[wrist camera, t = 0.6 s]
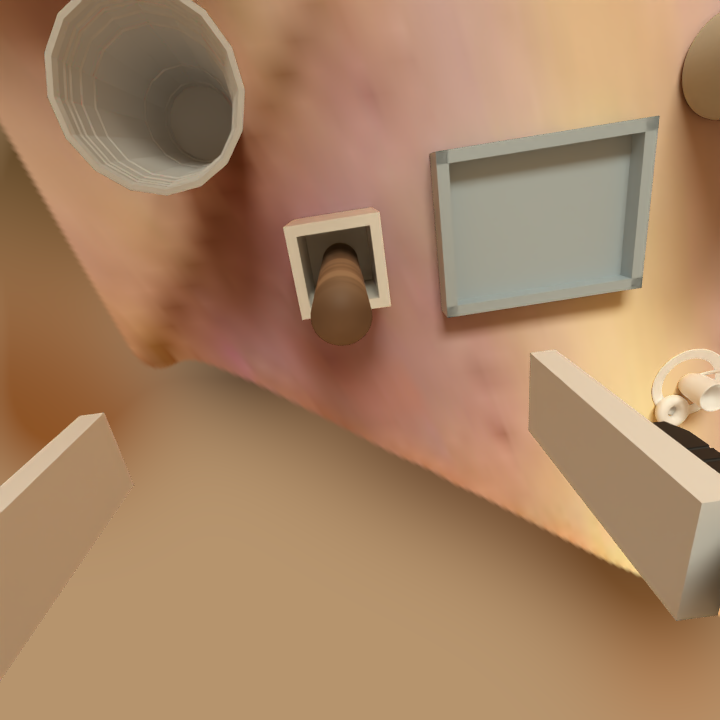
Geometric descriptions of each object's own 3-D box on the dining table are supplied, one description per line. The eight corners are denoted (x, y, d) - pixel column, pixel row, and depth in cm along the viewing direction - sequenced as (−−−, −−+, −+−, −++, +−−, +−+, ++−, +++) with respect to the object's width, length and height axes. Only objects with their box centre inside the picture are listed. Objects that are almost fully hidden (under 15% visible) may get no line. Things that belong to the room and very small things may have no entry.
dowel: (319, 245, 38) (304, 291, 22) (354, 240, 38) (367, 281, 22) (325, 280, 39) (316, 349, 23) (360, 275, 39) (376, 340, 23)
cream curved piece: (656, 429, 49) (682, 449, 45) (631, 377, 46) (657, 394, 42) (731, 388, 47) (765, 406, 43) (709, 332, 45) (744, 346, 41)
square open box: (293, 219, 38) (282, 227, 31) (371, 206, 38) (379, 211, 31) (308, 295, 41) (302, 319, 33) (381, 284, 41) (391, 305, 33)
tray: (429, 154, 37) (435, 151, 34) (639, 120, 36) (659, 115, 34) (441, 310, 42) (447, 317, 40) (624, 282, 42) (641, 287, 39)
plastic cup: (300, 117, 35) (282, 85, 24) (222, 220, 38) (174, 234, 27) (187, 6, 32) (106, -90, 21) (111, 126, 35) (4, 98, 24)
